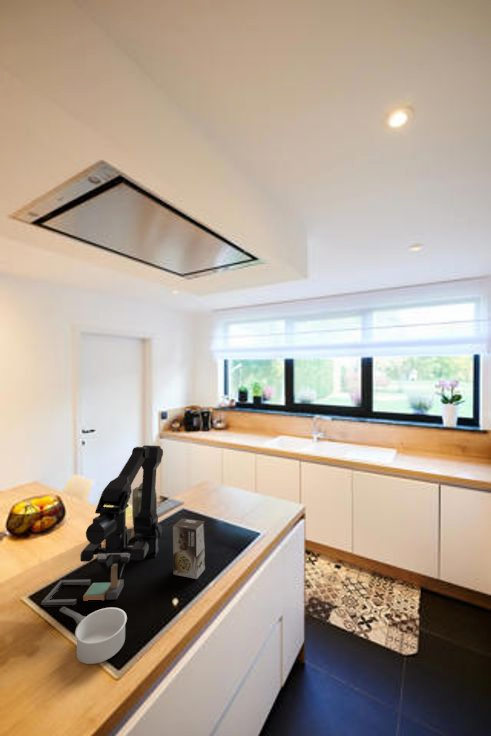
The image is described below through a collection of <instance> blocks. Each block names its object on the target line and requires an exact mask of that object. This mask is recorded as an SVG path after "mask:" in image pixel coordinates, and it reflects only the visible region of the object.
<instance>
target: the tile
mask: <svg viewBox="0 0 491 736" xmlns="http://www.w3.org/2000/svg"><path fill="white" fill-rule="evenodd" d="M110 586H111V582H92V583H91V584H90V585H89V587H88V589H87V590H86V592H85V593H84V595H83V596H82V600H83V602H89V601H88V600H102V601H105V600H106V592H107V591H108V589H109V587H110Z"/></svg>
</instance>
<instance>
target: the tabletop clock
mask: <svg viewBox="0 0 491 736" xmlns="http://www.w3.org/2000/svg"><path fill="white" fill-rule="evenodd" d="M156 490H157V489H156V488H155V501H154V510H155V512H156V513H157V514H158V512H157V507H158V506H157V500H158V499H157V491H156ZM131 495H132V503H131V504H132V509H131V510H132V511H131V513H132V516H131V517H132V526H134V519H135V517H136V516H137V515H138V514H139V512H140V510H141V496H142V482H141V483H140V484H139V486H136V487H134V488H133V489H132V493H131Z"/></svg>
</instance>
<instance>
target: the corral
mask: <svg viewBox="0 0 491 736" xmlns="http://www.w3.org/2000/svg"><path fill="white" fill-rule="evenodd" d="M62 585H81V586H91V585H92V579H91V578H90V579H89V578H88V579H60V580H59V581H58V582H57V584H56V585H55V586H54V587H53V588H52V589H51V591H50V592H49V593H48V594H47V595H46V596H45V597H44V599H43V600H42V601H41V602H40V606H41V605H72V607H73V605H75V604H76V605H77V598H69V599H68V598H65V599H63V598H62V599H60V598H59V599H53V597H54V596H55V595H56V594H57V593H58V592H59V590H60V589H61V588H62V587H63V586H62ZM61 586H62V587H61ZM60 587H61V588H60ZM59 588H60V589H59ZM58 589H59V590H58ZM56 592H57V593H56ZM55 593H56V594H55ZM54 594H55V595H54ZM53 595H54V596H53ZM52 596H53V597H52ZM50 599H51V600H50ZM76 605H75V606H76Z"/></svg>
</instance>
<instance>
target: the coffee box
mask: <svg viewBox="0 0 491 736" xmlns="http://www.w3.org/2000/svg"><path fill="white" fill-rule="evenodd" d="M205 537H206V535H205V520H199V519H198V520H197V519H191V518H183V517H182V518H180V520H178V521H177V522H176V523H175V524H173V526H172V555H173V556H172V559H173V560H172V565H173V566H172V569H173V570H172V572H173V573H172V574H173V575H175V576H180V577H184V578H185V577H186V578H190V579H195V580H198V579H199V578H200V577H201V575H202V573H203V572H204V571H205V570H206V563H205V562H206V559H205V558H206V554H205V553H206V552H205V549H206V548H205V541H206V539H205Z"/></svg>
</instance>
